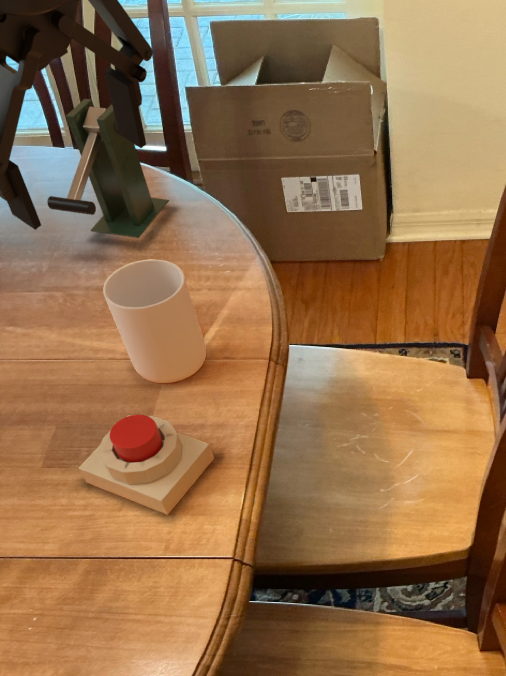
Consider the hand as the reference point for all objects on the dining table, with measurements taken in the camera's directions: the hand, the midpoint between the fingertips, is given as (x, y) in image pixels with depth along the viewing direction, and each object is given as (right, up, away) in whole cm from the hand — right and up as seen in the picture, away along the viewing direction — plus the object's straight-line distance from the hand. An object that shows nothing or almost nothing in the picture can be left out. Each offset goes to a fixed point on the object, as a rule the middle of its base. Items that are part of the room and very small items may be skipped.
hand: (81, 178), depth 72 cm
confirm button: (+4, -25, +3) cm, 25 cm away
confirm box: (+5, -27, +6) cm, 28 cm away
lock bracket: (-6, +9, +32) cm, 33 cm away
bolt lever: (-8, +11, +21) cm, 25 cm away
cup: (+3, -12, +16) cm, 21 cm away
